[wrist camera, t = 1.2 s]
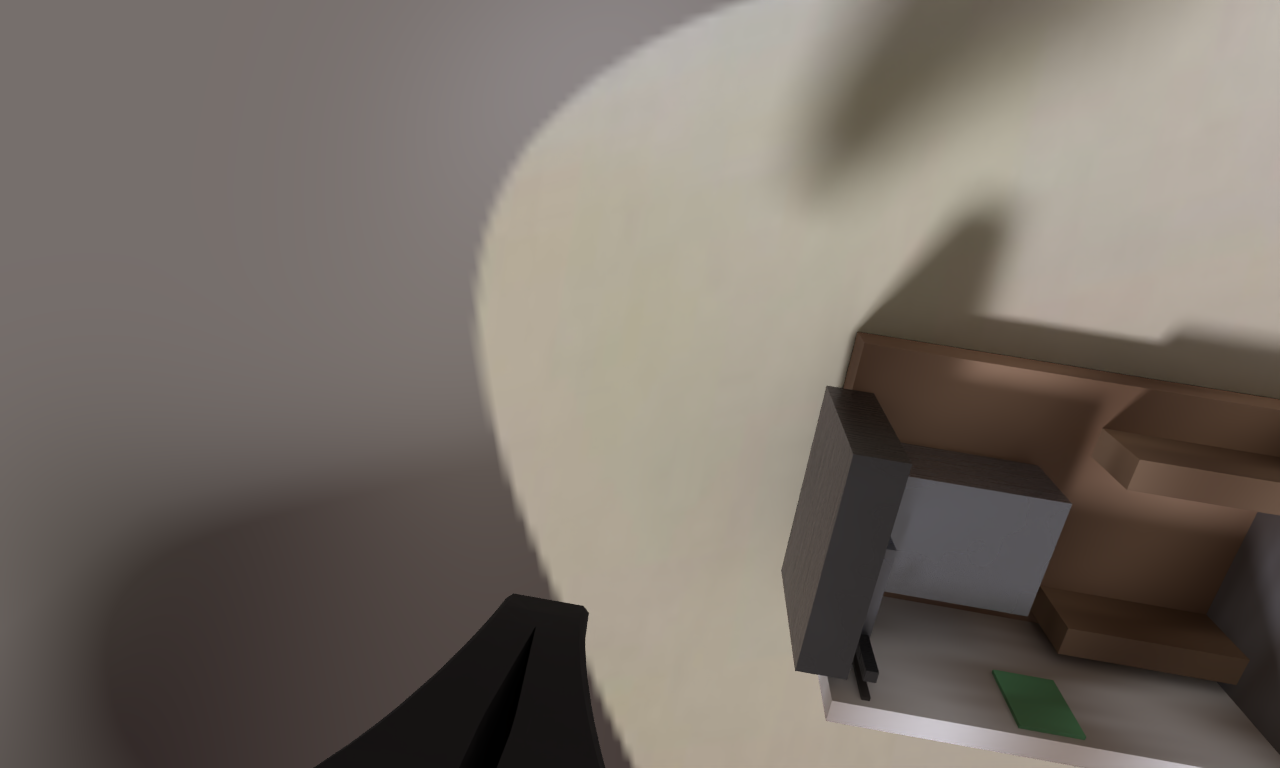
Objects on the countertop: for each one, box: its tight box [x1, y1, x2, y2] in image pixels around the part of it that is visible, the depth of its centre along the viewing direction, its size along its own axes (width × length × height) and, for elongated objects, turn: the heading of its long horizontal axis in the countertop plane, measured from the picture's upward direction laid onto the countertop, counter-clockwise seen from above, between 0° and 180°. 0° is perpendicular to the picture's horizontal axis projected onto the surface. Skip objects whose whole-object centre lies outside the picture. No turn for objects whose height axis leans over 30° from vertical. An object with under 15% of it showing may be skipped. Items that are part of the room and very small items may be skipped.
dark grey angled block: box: [781, 386, 1072, 683], centre depth 18 cm, size 6×6×4 cm
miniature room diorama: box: [818, 332, 1280, 768], centre depth 18 cm, size 12×8×6 cm
